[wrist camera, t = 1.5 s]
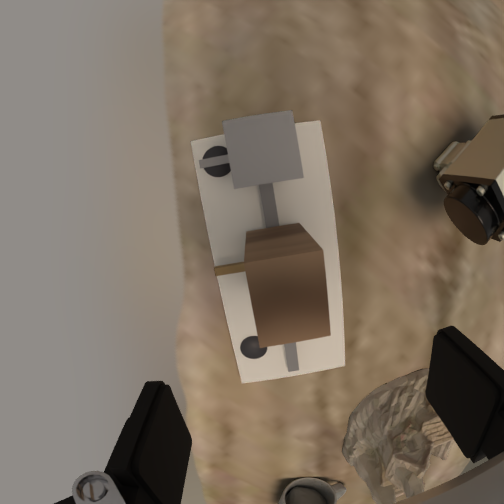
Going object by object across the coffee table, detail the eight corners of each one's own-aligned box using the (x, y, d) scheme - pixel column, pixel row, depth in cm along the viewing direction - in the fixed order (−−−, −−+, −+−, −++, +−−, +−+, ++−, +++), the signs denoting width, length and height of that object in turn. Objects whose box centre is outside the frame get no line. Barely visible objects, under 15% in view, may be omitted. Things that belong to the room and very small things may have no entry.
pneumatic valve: (399, 186, 24) (490, 204, 13) (467, 112, 22) (556, 100, 11) (430, 232, 25) (518, 272, 14) (493, 157, 23) (580, 164, 12)
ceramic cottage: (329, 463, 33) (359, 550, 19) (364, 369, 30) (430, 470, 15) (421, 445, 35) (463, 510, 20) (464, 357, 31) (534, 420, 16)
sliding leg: (209, 237, 23) (189, 272, 15) (299, 222, 23) (323, 249, 15) (222, 298, 24) (210, 354, 17) (307, 284, 24) (330, 335, 16)
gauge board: (193, 142, 23) (170, 132, 16) (316, 122, 23) (342, 105, 16) (242, 375, 29) (240, 427, 22) (342, 358, 29) (362, 406, 22)
